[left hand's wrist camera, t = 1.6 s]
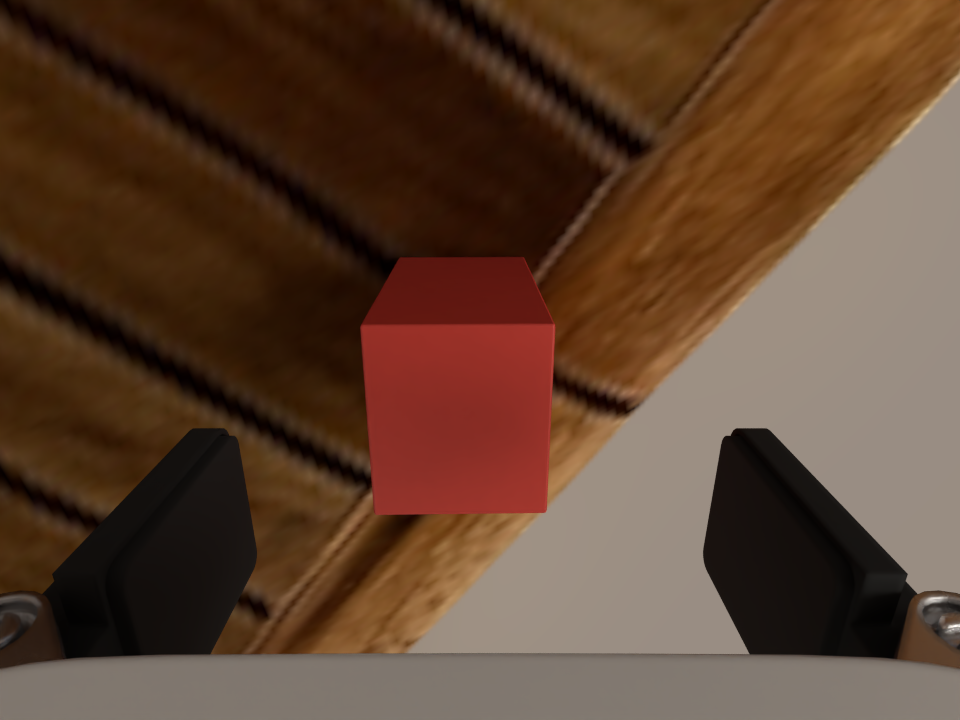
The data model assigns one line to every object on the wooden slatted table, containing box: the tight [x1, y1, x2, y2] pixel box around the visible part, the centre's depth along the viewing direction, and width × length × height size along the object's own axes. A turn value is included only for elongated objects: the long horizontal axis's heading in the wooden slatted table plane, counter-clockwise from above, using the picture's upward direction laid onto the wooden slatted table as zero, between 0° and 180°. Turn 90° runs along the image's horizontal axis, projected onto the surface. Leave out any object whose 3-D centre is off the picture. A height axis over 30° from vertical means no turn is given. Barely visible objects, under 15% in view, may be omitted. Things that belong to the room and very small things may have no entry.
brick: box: [360, 257, 555, 515], centre depth 19 cm, size 5×5×8 cm
